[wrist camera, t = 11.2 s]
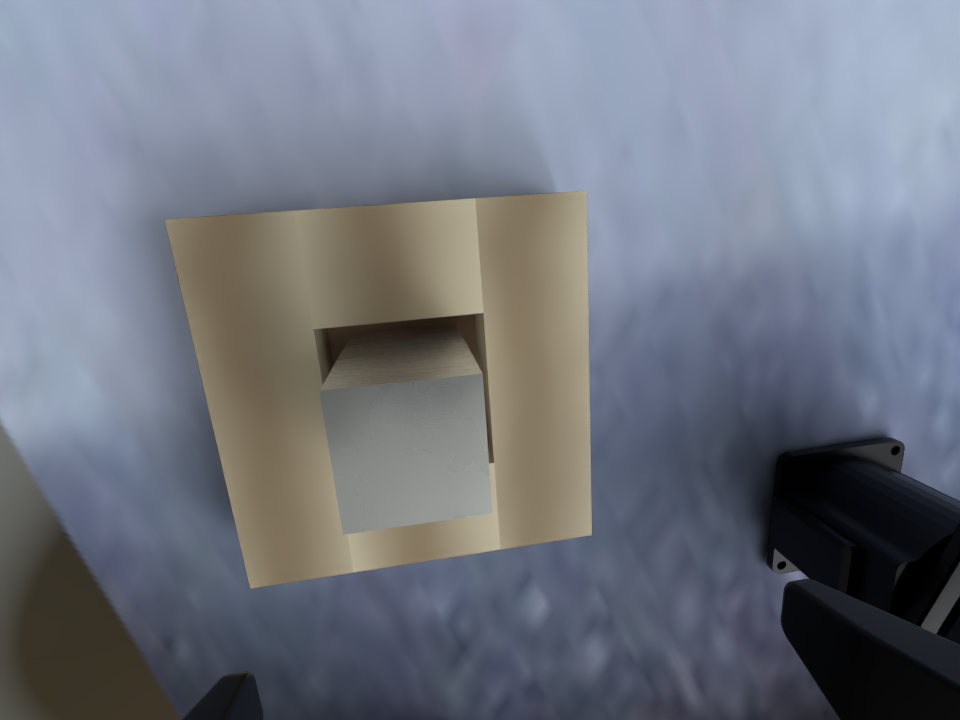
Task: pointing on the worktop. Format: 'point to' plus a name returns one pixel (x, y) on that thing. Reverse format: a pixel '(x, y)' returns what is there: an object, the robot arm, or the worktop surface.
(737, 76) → the worktop surface
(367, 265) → the well block
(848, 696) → the robot arm
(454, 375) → the grey rectangular block
